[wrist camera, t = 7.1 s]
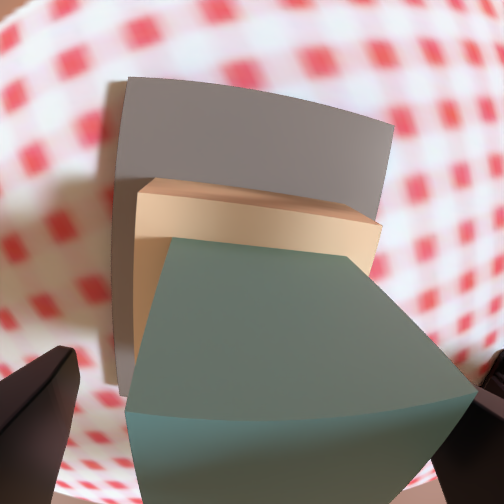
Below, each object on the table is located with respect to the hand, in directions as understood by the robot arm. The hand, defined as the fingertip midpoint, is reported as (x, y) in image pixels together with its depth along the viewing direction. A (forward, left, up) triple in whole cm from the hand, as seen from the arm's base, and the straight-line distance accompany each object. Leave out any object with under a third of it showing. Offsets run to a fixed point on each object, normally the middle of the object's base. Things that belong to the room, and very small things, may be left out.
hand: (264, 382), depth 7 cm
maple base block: (0, 0, -6) cm, 6 cm away
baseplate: (0, 0, -6) cm, 6 cm away
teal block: (0, 0, -3) cm, 3 cm away
